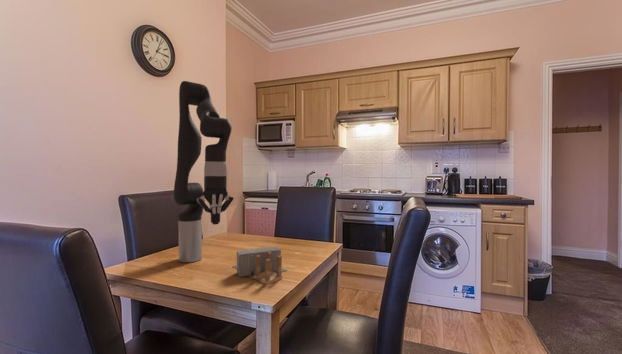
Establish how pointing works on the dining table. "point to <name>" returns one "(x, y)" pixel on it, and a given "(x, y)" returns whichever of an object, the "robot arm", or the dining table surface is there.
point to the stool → (268, 270)
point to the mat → (253, 275)
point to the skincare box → (248, 260)
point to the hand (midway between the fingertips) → (215, 224)
